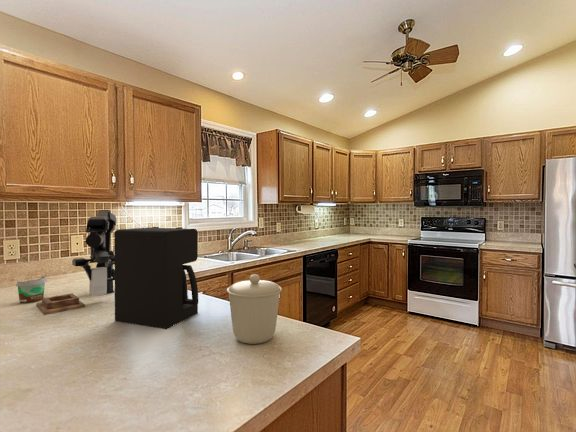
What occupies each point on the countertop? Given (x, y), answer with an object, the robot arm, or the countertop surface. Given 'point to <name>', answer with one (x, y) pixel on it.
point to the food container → (31, 290)
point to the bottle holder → (59, 303)
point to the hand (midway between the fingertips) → (98, 279)
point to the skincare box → (98, 281)
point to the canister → (254, 309)
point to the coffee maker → (155, 276)
